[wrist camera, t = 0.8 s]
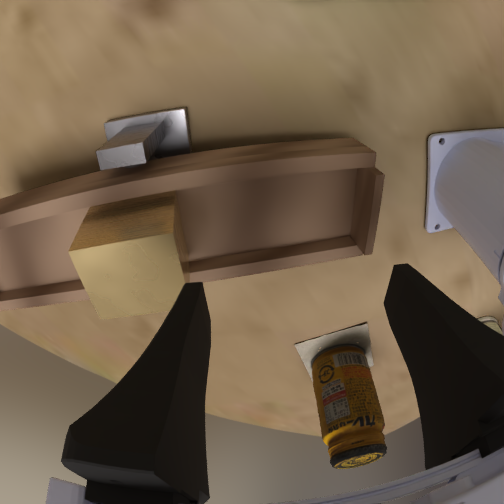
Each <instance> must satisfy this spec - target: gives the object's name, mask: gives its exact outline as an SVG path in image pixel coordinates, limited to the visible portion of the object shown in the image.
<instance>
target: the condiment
mask: <svg viewBox="0 0 504 504" xmlns="http://www.w3.org/2000/svg"><path fill="white" fill-rule="evenodd" d="M295 347H296V349H297V351H298V353H299V355H300V357H301V359H302V361H303V363H304V365H305V367H306V369H307V371H308V373H309V375H310V377H311V379H312V381H313V387H314V392H315V396H316V401H317V408H318V413H319V418H320V426H321V432H322V439H323V441H324V443H325V444H327V445H328V446H329V448H328V452H329V455H330V459H331V460H330V463H331V465H332V467H334V468H337V469H348V468H354V467H358V466H363V465H366V464H369V463H372V462H374V461H376V460H378V459H380V458H382V457H383V456H384V455H385V454H386V450H387V447H386V444H385V441H384V439H385V438H384V434H383V433H382V431H383V429H384V426H385V423H384V417H383V415H382V410H381V407H380V403H379V400H378V396H377V393H376V389H375V385H374V382H373V379H372V375H371V371H370V368H369V367H371V366H373V359H372V352H371V344H370V337H369V330H368V324H364V325H361V326H355V327H352V328H348V329H346V330H341V331H338V332H334V333H331V334H328V335H323V336H321V337H319V338H316V339H311V340H307V341H305V342H302V343H299V344H295ZM320 347H321V349H319V348H320ZM318 350H320V351H318Z"/></svg>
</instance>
